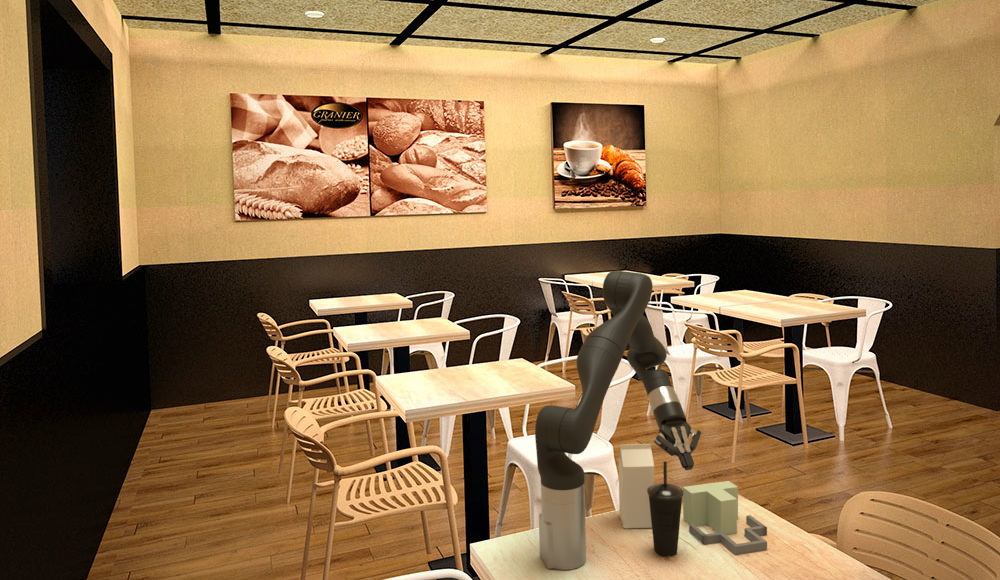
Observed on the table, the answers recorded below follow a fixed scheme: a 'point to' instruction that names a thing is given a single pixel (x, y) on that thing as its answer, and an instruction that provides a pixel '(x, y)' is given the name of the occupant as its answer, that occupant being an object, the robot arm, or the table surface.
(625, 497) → the milk carton
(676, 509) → the drinking cup
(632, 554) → the table surface
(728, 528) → the t block
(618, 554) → the table surface
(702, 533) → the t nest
